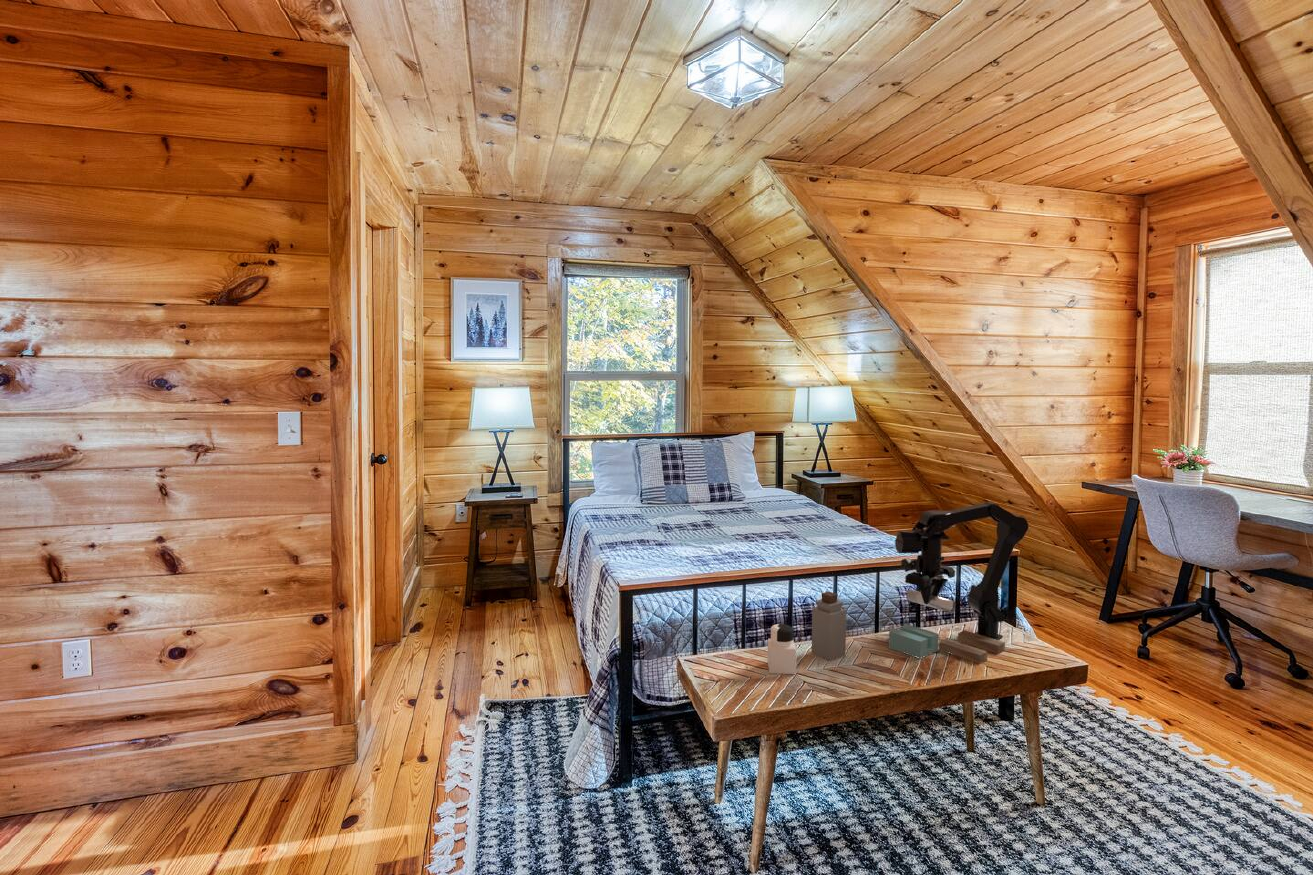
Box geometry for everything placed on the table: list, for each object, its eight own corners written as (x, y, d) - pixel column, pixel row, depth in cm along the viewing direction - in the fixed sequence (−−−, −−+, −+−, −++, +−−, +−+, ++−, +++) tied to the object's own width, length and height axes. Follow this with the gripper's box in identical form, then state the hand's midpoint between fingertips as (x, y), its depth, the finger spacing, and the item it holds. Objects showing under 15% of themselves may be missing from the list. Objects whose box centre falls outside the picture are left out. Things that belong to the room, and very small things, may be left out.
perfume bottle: (845, 655, 183) (846, 594, 182) (829, 661, 179) (830, 599, 178) (827, 647, 189) (828, 588, 187) (811, 653, 185) (812, 592, 183)
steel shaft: (906, 601, 200) (906, 590, 200) (912, 599, 202) (912, 588, 202) (949, 613, 189) (949, 602, 189) (955, 611, 191) (955, 599, 191)
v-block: (906, 639, 194) (907, 623, 194) (937, 650, 187) (938, 633, 186) (888, 647, 189) (889, 631, 188) (920, 658, 181) (920, 641, 180)
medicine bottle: (793, 663, 178) (793, 621, 177) (796, 674, 171) (796, 631, 170) (767, 662, 178) (767, 621, 178) (769, 673, 171) (769, 630, 170)
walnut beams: (964, 637, 196) (964, 630, 196) (1004, 650, 187) (1005, 642, 186) (939, 649, 187) (939, 641, 187) (980, 663, 178) (980, 655, 177)
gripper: (923, 543, 206) (921, 590, 208) (890, 552, 195) (888, 601, 196) (956, 550, 198) (954, 599, 199) (924, 559, 186) (922, 611, 187)
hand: (929, 602), depth 196 cm, fingers closed on steel shaft, 4 cm apart
